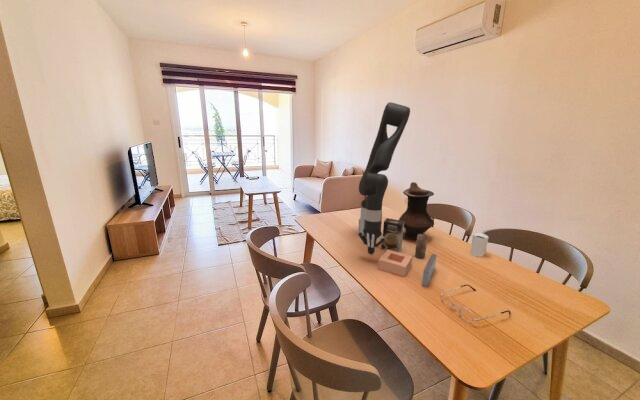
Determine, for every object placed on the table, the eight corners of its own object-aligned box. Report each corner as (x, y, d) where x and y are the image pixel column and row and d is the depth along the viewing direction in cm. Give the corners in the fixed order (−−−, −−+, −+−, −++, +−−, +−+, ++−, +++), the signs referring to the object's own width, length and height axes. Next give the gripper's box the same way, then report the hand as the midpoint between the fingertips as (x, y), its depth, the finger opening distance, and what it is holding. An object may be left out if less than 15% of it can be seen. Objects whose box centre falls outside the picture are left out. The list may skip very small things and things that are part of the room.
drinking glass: (487, 258, 126) (491, 239, 123) (472, 256, 127) (475, 237, 125) (481, 251, 132) (485, 233, 130) (467, 250, 134) (470, 232, 131)
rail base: (373, 273, 113) (374, 256, 110) (385, 257, 126) (386, 242, 123) (432, 291, 100) (434, 273, 98) (439, 272, 113) (441, 256, 111)
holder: (378, 268, 113) (378, 259, 112) (386, 258, 123) (387, 249, 121) (404, 276, 108) (405, 267, 106) (411, 265, 117) (412, 255, 116)
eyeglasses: (435, 299, 96) (437, 288, 95) (472, 289, 103) (475, 278, 101) (474, 330, 82) (476, 317, 80) (514, 316, 88) (517, 303, 87)
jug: (437, 244, 140) (445, 190, 132) (402, 243, 141) (408, 189, 132) (423, 229, 161) (429, 181, 152) (393, 229, 161) (397, 181, 153)
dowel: (413, 259, 124) (416, 236, 121) (415, 255, 128) (418, 233, 124) (423, 262, 122) (426, 238, 119) (425, 258, 125) (428, 235, 122)
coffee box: (380, 251, 132) (383, 221, 128) (384, 246, 138) (386, 217, 133) (399, 255, 128) (402, 224, 124) (401, 250, 134) (404, 220, 129)
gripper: (390, 218, 115) (387, 254, 120) (362, 213, 122) (360, 247, 127) (384, 223, 109) (382, 260, 114) (355, 217, 116) (354, 253, 120)
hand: (370, 253), depth 120 cm, fingers closed
